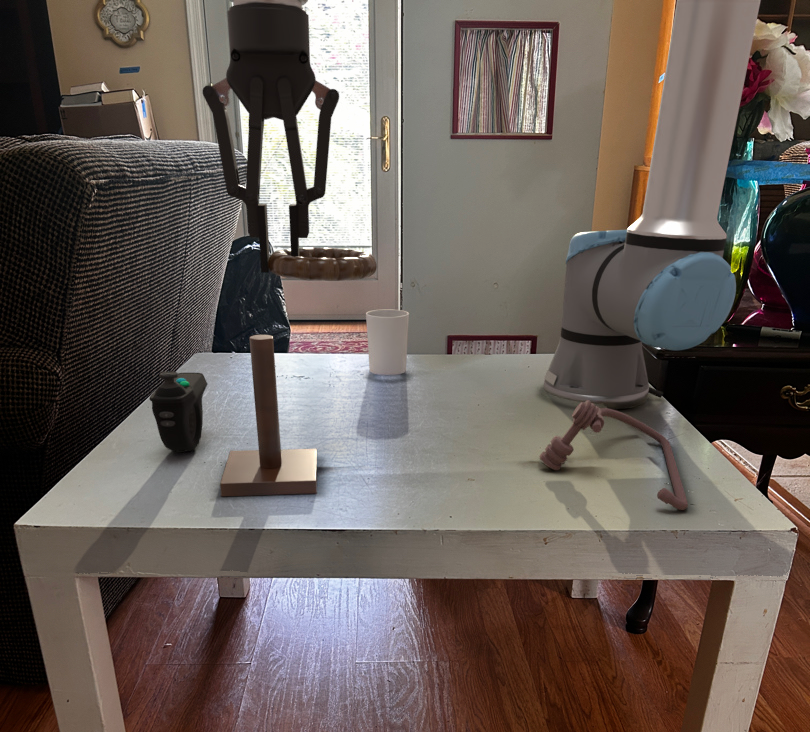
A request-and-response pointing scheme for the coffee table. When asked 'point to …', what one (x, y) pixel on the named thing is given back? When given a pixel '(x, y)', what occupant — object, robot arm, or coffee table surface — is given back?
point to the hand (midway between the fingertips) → (280, 270)
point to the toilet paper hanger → (593, 417)
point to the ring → (322, 264)
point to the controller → (179, 409)
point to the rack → (268, 441)
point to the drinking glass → (387, 341)
